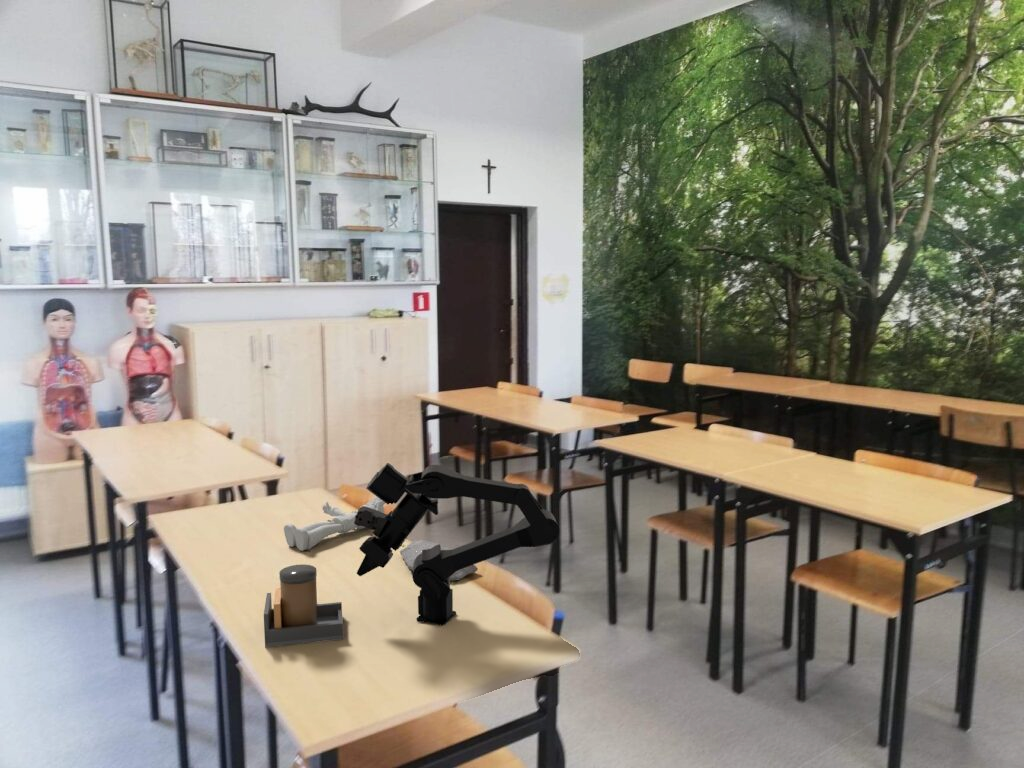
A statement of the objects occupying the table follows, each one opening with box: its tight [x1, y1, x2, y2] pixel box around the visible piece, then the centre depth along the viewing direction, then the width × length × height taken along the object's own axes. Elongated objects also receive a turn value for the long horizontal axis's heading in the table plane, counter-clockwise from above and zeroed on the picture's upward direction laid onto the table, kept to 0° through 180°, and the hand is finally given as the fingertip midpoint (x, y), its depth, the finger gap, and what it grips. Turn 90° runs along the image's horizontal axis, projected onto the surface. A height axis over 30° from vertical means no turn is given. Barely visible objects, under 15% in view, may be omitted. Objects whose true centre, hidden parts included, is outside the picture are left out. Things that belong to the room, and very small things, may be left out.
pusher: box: [273, 587, 282, 629], centre depth 158 cm, size 1×8×7 cm, turn 14°
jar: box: [278, 564, 318, 628], centre depth 159 cm, size 7×7×12 cm
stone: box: [399, 539, 479, 581], centre depth 196 cm, size 16×6×25 cm
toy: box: [283, 496, 386, 552], centre depth 219 cm, size 33×8×30 cm
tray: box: [263, 592, 344, 648], centre depth 160 cm, size 15×11×7 cm
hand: (358, 574), depth 164 cm, fingers closed
